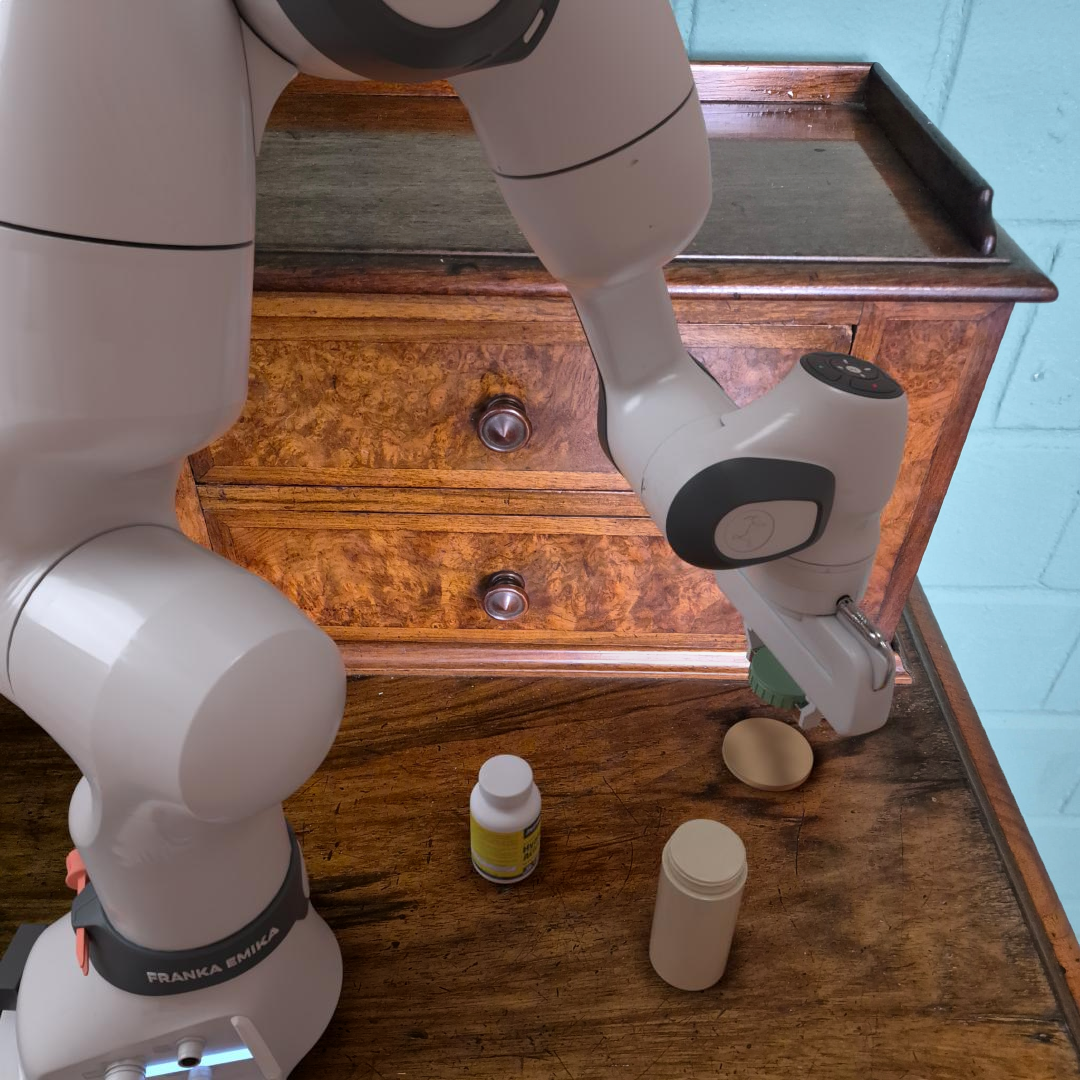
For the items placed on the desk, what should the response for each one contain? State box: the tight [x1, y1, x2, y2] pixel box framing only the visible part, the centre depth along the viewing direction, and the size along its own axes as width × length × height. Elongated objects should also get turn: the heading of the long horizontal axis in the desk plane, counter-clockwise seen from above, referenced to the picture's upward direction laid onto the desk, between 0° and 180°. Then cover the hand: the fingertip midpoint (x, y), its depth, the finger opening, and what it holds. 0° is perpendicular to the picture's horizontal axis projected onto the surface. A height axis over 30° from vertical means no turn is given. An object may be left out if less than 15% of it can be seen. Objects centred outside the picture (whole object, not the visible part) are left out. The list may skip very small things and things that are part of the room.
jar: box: [648, 818, 749, 992], centre depth 65 cm, size 6×6×12 cm
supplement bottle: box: [469, 754, 542, 884], centre depth 72 cm, size 5×5×10 cm
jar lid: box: [747, 646, 807, 711], centre depth 79 cm, size 6×6×2 cm
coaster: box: [721, 717, 814, 792], centre depth 84 cm, size 8×8×1 cm
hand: (780, 691), depth 80 cm, fingers closed on jar lid, 6 cm apart
